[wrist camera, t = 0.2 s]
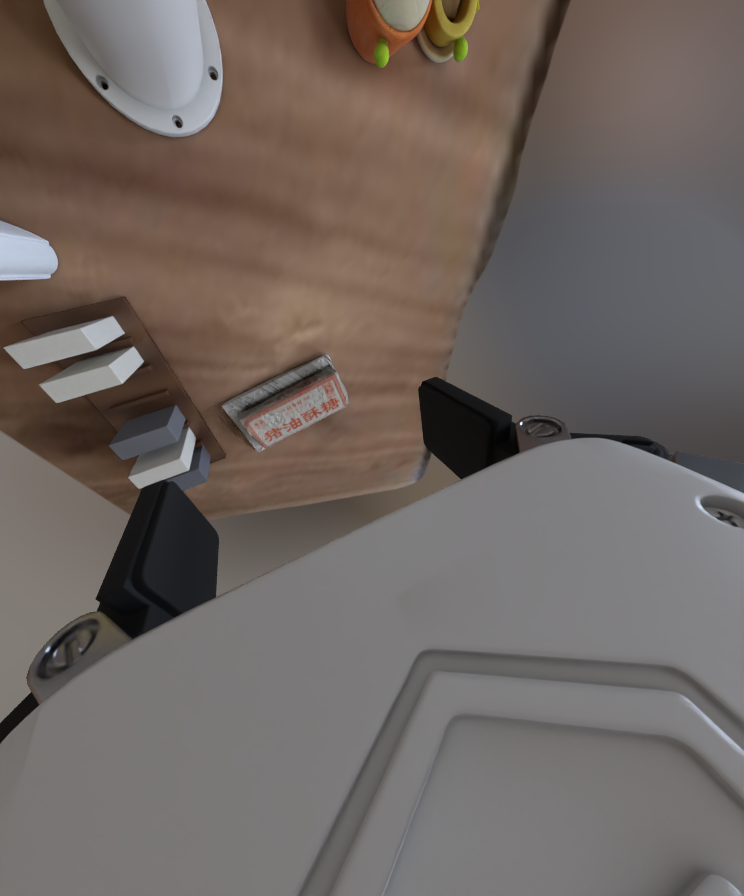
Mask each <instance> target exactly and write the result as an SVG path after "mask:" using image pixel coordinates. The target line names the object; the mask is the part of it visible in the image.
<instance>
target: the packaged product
mask: <svg viewBox="0 0 744 896" xmlns="http://www.w3.org/2000/svg"><path fill="white" fill-rule="evenodd" d="M349 405H350V404H349V401H348V395H347V391H346V389H345V387H344V385H343V383H342V382H341V380H340V378H339V376H338V372H337V371H336V370H335V368H334V366H333V364H332V362H331V359H330V357H329V356H328V355H327V354H325V355H323V356H321V357H319V358H317V359H315V360H313V361H310V362H308V363H306V364H303V365H301V366H299V367H296V368H294V369H291V370H289V371H287V372H285V373H282V374H280V375H278V376H275V377H273V378H271V379H269V380H268V381H266V382H264V383H262V384H260V385H258V386H256V387H254V388H252V389H250V390H248V391H246V392H244V393H242V394H240V395H238V396H236V397H234V398H232V399H231V400H229V401H227V402H225V403H223V405H222V408H223V409H224V410H225V411H226V413H227V414H228V415H229V416H230V418H231V419H232V420H233V422H234V423H235V424H236V425H237V427H238V428H239V429H240V430H241V431H242V433H243V434H244V435H245V436H246V438H247V439H248V440H249V442H250V443H251V444H252V445H253V447H254V448H255V449H256V450H257V451H258V453H259V452H260V451H262V450H264V449H266V448H269V447H270V446H272V445H274V444H276V443H278V442H280V441H281V440H283V439H285V438H287V437H289V436H291V435H293V434H295V433H297V432H299V431H301V430H303V429H305V428H307V427H309V426H310V425H312V424H314V423H316V422H318V421H320V420H322V419H324V418H326V417H328V416H329V415H331V414H333V413H335V412H337V411H339V410H341V409H343V408H345V407H347V406H349Z"/></svg>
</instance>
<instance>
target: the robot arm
mask: <svg viewBox="0 0 744 896" xmlns="http://www.w3.org/2000/svg"><path fill="white" fill-rule="evenodd" d="M43 1H44V5H45V8H46V10H47V12H48V14H49V17H50V19H51V21H52V23H53V26H54V28H55V30H56V32H57V34H58V36H59V38H60V39H61V41H62V43H63V45H64V46H65V48H66V50H67V51H68V53H69V55H70V56H71V58H72V59H73V61H74V62H75V64H76V65H77V66H78V68H79V69H80V71H81V72H82V73H83V74H84V76H85V77H86V78H87V80H88V81H89V82H90V83H91V84H92V86H93V87H94V88H95V89H96V91H97V92H98V93H99V94H100V95H101V96H102V97H103V98H104V99H105V100H106V101H107V102H108V103H109V104H110V105H111V106H112V107H114V108H115V109H116V110H117V111H119V112H120V113H121V114H123V115H124V116H125V117H126V118H128V119H129V120H131V121H132V122H134V123H136V124H137V125H139V126H141V127H143V128H144V129H147V130H149V131H152V132H154V133H157V134H159V135H165V136H170V137H185V136H189V135H192V134H195V133H198V132H199V131H200V130H202V129H203V128H204V127H206V126H207V125H208V124H209V122H210V121H211V120H212V118H213V117H214V115H215V113H216V111H217V108H218V106H219V103H220V98H221V93H222V82H223V69H222V56H221V51H220V45H219V40H218V35H217V32H216V29H215V25H214V22H213V19H212V16H211V13H210V10H209V8H208V6H207V3H206V1H205V0H43ZM212 74H213V75H214V76H215V77H216V80H212V79H211V77H210V76H211V75H212ZM102 84H107V85H108V89H107V90H104V89H103V87H102ZM176 122H180V123H181V125H182V126H181V128H178V127H177V126H176ZM418 391H419V401H420V411H421V420H422V430H423V440H424V444H425V446H426V448H427V449H428V450H429V451H431V452H432V453H433V454H434V455H435V456H436V457H437V458H438V459H439V460H441V461H442V462H443V463H444V464H445V465H446V466H447V467H448V468H449V469H451V470H452V471H453V472H454V473H455V474H456V475H457V476H458V477H459V478H460V479H461V480H459V481H457V482H455V483H453V484H451V485H449V486H447V487H445V488H442V489H441V490H438V491H436V492H434V493H432V494H430V495H428V496H425V497H424V498H421V499H419V500H417V501H415V502H413V503H411V504H409V505H406V506H404V507H402V508H400V509H398V510H396V511H394V512H392V513H390V514H388V515H385V516H383V517H381V518H379V519H377V520H375V521H373V522H371V523H369V524H367V525H364V526H362V527H360V528H358V529H356V530H354V531H352V532H350V533H348V534H346V535H344V536H342V537H340V538H337V539H335V540H333V541H331V542H329V543H327V544H325V545H323V546H321V547H319V548H317V549H314V550H312V551H310V552H308V553H306V554H304V555H302V556H300V557H298V558H296V559H294V560H292V561H290V562H288V563H285V564H283V565H281V566H279V567H277V568H275V569H273V570H271V571H269V572H267V573H265V574H263V575H261V576H259V577H257V578H255V579H253V580H250V581H248V582H246V583H244V584H242V585H240V586H238V587H236V588H234V589H232V590H230V591H228V592H226V593H224V594H222V595H219V596H217V597H216V584H217V565H218V548H219V538H218V534H217V532H216V530H215V529H214V528H213V527H212V525H211V524H210V523H209V522H208V521H207V519H206V518H205V517H204V516H203V515H202V514H201V512H200V511H199V510H198V509H197V508H196V506H195V505H194V504H193V503H192V502H191V500H190V499H189V498H188V497H187V496H186V495H185V493H184V492H183V491H182V490H181V489H180V487H179V486H178V485H177V484H176V483H175V482H173V481H170V482H168V481H166V480H161V481H158V482H155V483H153V484H150V485H147V486H145V487H143V488H142V490H141V493H140V495H139V497H138V500H137V502H136V505H135V507H134V509H133V512H132V514H131V516H130V519H129V521H128V524H127V526H126V528H125V531H124V533H123V536H122V538H121V540H120V542H119V545H118V547H117V550H116V552H115V554H114V557H113V559H112V562H111V564H110V566H109V569H108V571H107V573H106V576H105V578H104V580H103V583H102V585H101V588H100V590H99V592H98V595H97V597H96V600H97V601H99V602H100V605H99V607H98V610H97V612H90V613H87V614H85V615H82V616H80V617H78V618H77V619H75V620H73V621H72V622H70V623H69V624H67V625H66V626H65V627H63V628H62V629H61V630H60V631H58V632H57V633H56V634H55V635H54V636H53V637H52V638H51V639H50V640H49V641H48V642H47V643H46V644H45V645H44V646H43V648H42V649H41V650H40V651H39V653H38V654H37V655H36V657H35V658H34V660H33V662H32V664H31V665H30V667H29V671H28V674H27V677H26V678H27V684H28V686H29V688H30V690H31V693H30V694H29V695H28V696H27V697H26V698H25V699H24V700H23V701H22V702H21V703H20V704H19V705H18V706H17V707H16V708H15V709H14V710H13V711H12V712H11V713H10V714H9V715H8V716H7V717H6V718H5V719H4V720H3V721H2V722H1V723H0V896H744V464H742V463H736V462H731V461H726V460H721V459H715V458H710V457H705V456H699V455H694V454H689V453H684V452H678V451H676V452H675V454H674V455H670V454H669V452H668V451H667V449H666V448H665V447H663V446H662V445H660V444H658V443H657V442H654V441H652V440H650V439H648V438H645V437H640V436H622V435H601V434H581V433H569V430H568V428H567V426H566V425H565V423H563V422H562V421H560V420H558V419H556V418H553V417H549V416H541V415H534V416H528V417H524V418H522V419H520V420H519V421H518V422H517V423H514V422H512V415H510V414H508V413H506V412H504V411H502V410H500V409H499V408H497V407H494V406H493V405H491V404H489V403H487V402H485V401H483V400H481V399H479V398H477V397H475V396H473V395H471V394H469V393H467V392H465V391H463V390H461V389H459V388H457V387H456V386H454V385H452V384H450V383H447V382H446V381H444V380H442V379H440V378H438V377H434V378H431V379H428V380H426V381H423V382H422V384H421V386H420V387H419V389H418Z"/></svg>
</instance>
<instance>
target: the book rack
mask: <svg viewBox="0 0 744 896" xmlns="http://www.w3.org/2000/svg"><path fill="white" fill-rule="evenodd" d="M110 316H113V317H114V318H115V320H116V321H117V322H118V324H119V325H120V327H121V328H122V330H123V331H124V333H125V334H123V335H121V336H120V337H118V338H116V339H115V340H113V341H111V342H109V343H108V344H106V345H104V346H103V347H101V348H99V349H97V350H95V351H91V352H87V353H83V354H80V355H76V356H72V357H68V358H65V359H61V360H57V361H56V362H57V363H58V364H59V365H60V366H61V368H62V369H63V370H65V369H66V368H68V367H70V366H71V365H73V364H75V363H77V362H78V361H81V360H84V359H88V358H92V357H95V356H99V355H103V354H106V353H110V352H114V351H118V350H121V349H125V348H129V347H132V346H134V347H135V349H136V350H137V352H138V353H139V355H140V356H141V358H142V359H143V360H144V362H143V363H142V364H141V365H140V366H139V367H138V369H137V370H136V371H135V372H134V373H133V374H132V375H131V376H130V377H129V378H128V379H127V380H126V381H125V382H124V383H123V384H120V385H117V386H113V387H110V388H107V389H103V390H100V391H96V392H93V393H90V394H86V396H87V397H88V398H89V400H90V401H91V402H92V403H93V404H94V405H95V406H96V408H97V409H98V410H99V411H100V412H101V413H102V414H103V416H104V417H105V418H106V419H107V420H108V421H109V422H110V424H111V425H112V426H113V427H114V428H115V429H116V430H117V432H118V431H119V430H120V428H121V427H122V426H123V424H124V423H125V421H127V420H130V419H133V418H136V417H139V416H142V415H145V414H148V413H152V412H155V411H158V410H161V409H164V408H167V407H170V406H173V405H177V407H178V408H179V410H180V411H181V413H182V414H183V416H184V417H185V422H184V425H183V428H182V429H185V428H188V427H189V428H190V429H191V431H192V432H193V434H194V435H195V437H196V441H195V446H194V449H195V448H198V447H201V446H203V445H204V447H205V448H206V450H207V451H208V453H209V454H210V455H211V458H210V463H213V462H216V461H218V460H221V459H224V458H226V454H225V453H224V451H223V449H222V448H221V446H220V445H219V443H218V442H217V440H216V438H215V437H214V435H213V434H212V432H211V431H210V429H209V427H208V426H207V424H206V423H205V421H204V420H203V418H202V416H201V415H200V413H199V412H198V410H197V409H196V407H195V405H194V404H193V402H192V401H191V399H190V397H189V396H188V394H187V393H186V391H185V390H184V388H183V386H182V385H181V383H180V382H179V380H178V379H177V377H176V375H175V374H174V372H173V371H172V369H171V368H170V366H169V364H168V363H167V361H166V360H165V358H164V357H163V355H162V353H161V352H160V350H159V349H158V347H157V346H156V344H155V342H154V341H153V339H152V338H151V336H150V334H149V333H148V331H147V330H146V328H145V327H144V325H143V323H142V322H141V320H140V319H139V317H138V316H137V314H136V312H135V311H134V309H133V308H132V306H131V305H130V303H129V301H128V300H127V298H126V297H121V298H117V299H113V300H108V301H104V302H100V303H96V304H91V305H87V306H83V307H79V308H74V309H70V310H66V311H61V312H57V313H53V314H49V315H44V316H40V317H36V318H32V319H27V320H23V321H21V322H22V323H23V324H24V325H25V326H26V328H27V329H28V330H29V331H30V332H31V333H32V334H33V336H34V337H36V336H39V335H42V334H45V333H48V332H51V331H54V330H58V329H62V328H66V327H70V326H74V325H78V324H82V323H86V322H90V321H94V320H98V319H102V318H106V317H110ZM138 456H139V455H138Z"/></svg>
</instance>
